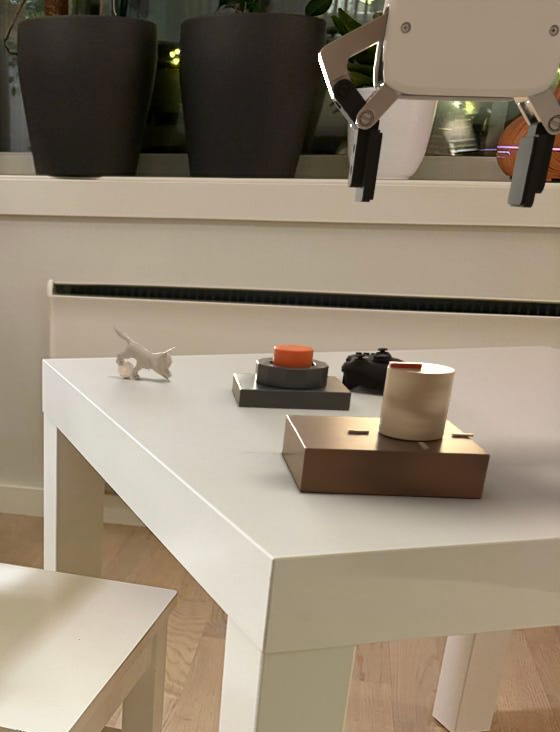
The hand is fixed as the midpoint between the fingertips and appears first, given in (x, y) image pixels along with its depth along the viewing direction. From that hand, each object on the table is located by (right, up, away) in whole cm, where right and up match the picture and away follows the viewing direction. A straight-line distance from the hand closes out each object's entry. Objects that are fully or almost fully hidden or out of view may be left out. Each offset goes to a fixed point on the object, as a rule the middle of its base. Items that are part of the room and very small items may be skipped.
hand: (440, 204), depth 62 cm
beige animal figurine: (-17, -1, +39) cm, 42 cm away
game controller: (+7, -2, +37) cm, 38 cm away
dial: (0, -13, +7) cm, 15 cm away
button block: (-3, -5, +31) cm, 31 cm away
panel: (-2, -16, +8) cm, 18 cm away
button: (-3, -2, +29) cm, 30 cm away
